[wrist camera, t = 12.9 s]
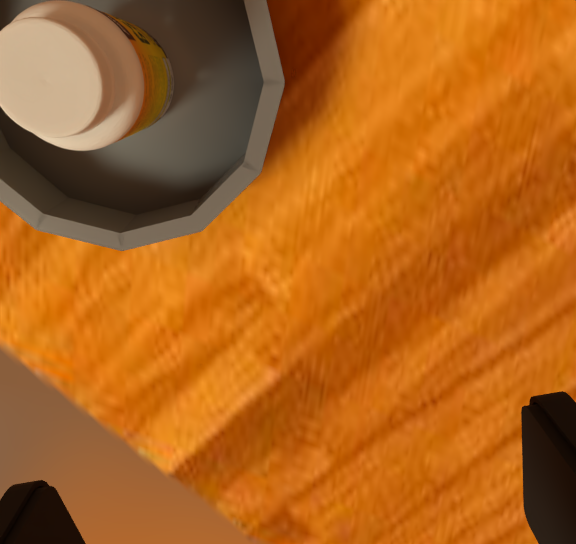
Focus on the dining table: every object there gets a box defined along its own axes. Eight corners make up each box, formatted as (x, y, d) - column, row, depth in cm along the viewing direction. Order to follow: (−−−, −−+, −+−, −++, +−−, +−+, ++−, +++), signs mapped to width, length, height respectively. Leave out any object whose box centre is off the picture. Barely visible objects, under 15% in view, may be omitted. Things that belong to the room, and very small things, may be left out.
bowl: (228, -152, 23) (220, -200, 19) (306, 184, 30) (312, 203, 26) (-96, -57, 24) (-171, -82, 20) (49, 249, 31) (16, 277, 27)
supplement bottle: (183, 36, 25) (136, 14, 16) (168, 141, 27) (118, 176, 18) (75, 7, 25) (-42, -33, 15) (67, 117, 27) (-39, 141, 17)
